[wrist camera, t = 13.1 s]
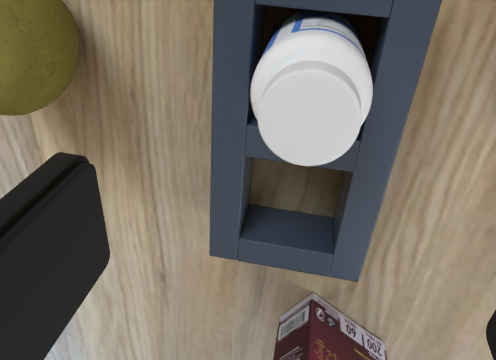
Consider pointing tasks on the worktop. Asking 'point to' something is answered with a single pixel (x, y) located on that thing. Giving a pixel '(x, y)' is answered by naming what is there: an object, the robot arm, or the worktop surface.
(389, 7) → the holder
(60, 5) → the apple
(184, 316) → the worktop surface
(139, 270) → the worktop surface
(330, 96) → the pill bottle
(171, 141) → the worktop surface
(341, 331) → the supplement box
